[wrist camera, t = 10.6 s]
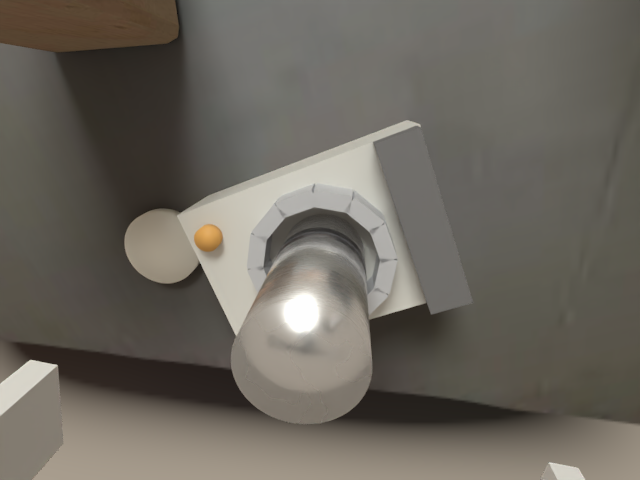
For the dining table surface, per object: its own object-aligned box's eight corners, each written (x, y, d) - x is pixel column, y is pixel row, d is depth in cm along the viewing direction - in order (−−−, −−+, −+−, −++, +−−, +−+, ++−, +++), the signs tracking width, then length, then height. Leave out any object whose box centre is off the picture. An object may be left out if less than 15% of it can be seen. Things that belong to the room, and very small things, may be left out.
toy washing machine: (407, 120, 29) (425, 126, 21) (448, 257, 32) (478, 304, 24) (208, 195, 32) (163, 224, 24) (263, 314, 35) (238, 373, 27)
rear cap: (184, 196, 32) (176, 201, 31) (216, 263, 34) (210, 270, 33) (120, 221, 34) (110, 227, 32) (155, 284, 35) (147, 292, 34)
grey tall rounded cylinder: (289, 206, 26) (237, 289, 14) (372, 221, 25) (386, 317, 14) (278, 282, 27) (224, 410, 16) (356, 296, 27) (357, 436, 16)
